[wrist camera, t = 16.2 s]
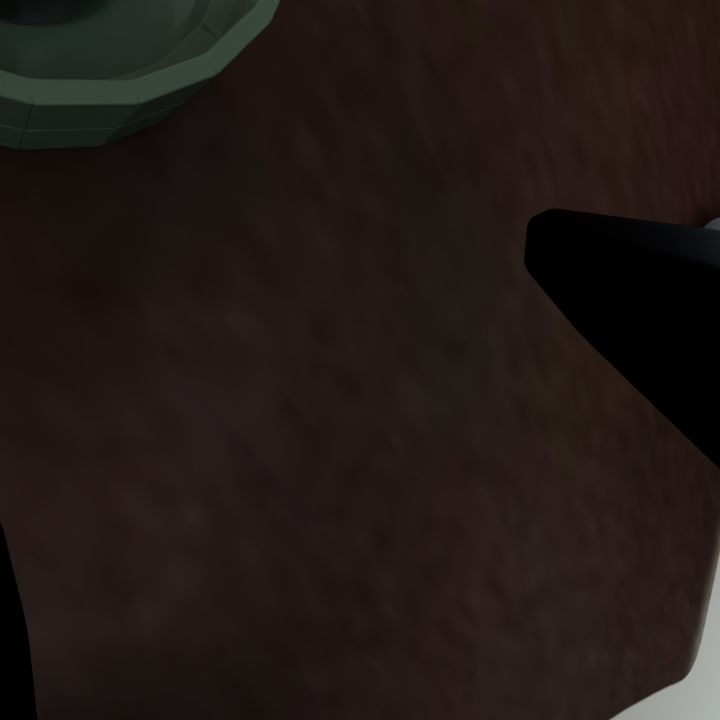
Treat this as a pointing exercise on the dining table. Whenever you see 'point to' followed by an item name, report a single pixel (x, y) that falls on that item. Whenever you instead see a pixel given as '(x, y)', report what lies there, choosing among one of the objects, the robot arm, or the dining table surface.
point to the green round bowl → (116, 67)
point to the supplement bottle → (45, 10)
